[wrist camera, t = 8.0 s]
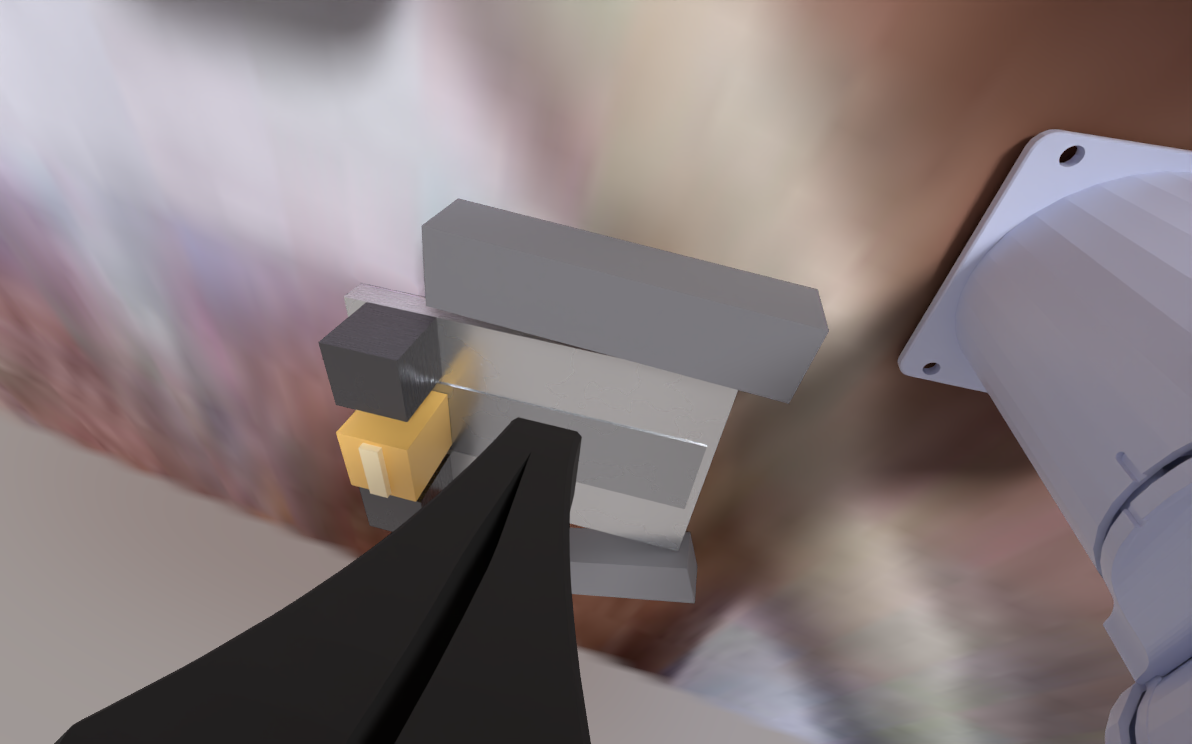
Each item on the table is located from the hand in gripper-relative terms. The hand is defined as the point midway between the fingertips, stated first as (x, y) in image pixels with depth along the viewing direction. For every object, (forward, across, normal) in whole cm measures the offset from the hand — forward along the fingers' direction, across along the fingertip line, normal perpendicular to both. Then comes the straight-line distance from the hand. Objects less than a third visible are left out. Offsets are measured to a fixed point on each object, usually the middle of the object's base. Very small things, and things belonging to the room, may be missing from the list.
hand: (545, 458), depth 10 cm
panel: (+10, +3, +9) cm, 14 cm away
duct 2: (+10, 0, +18) cm, 21 cm away
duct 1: (+10, 0, +1) cm, 10 cm away
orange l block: (+9, +8, +9) cm, 15 cm away
